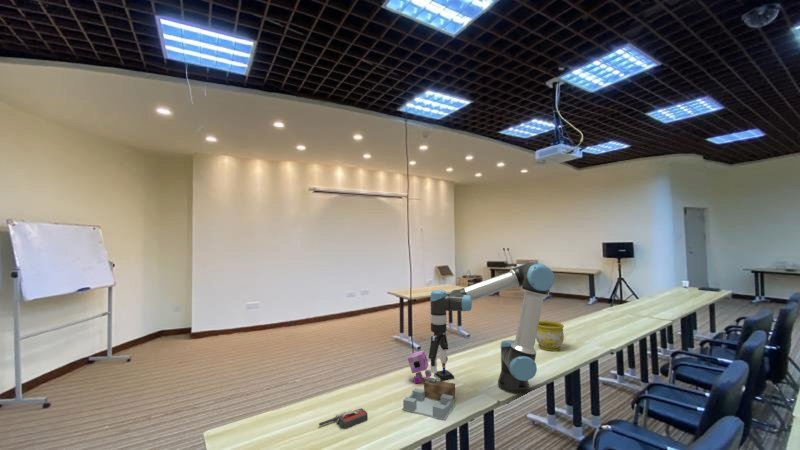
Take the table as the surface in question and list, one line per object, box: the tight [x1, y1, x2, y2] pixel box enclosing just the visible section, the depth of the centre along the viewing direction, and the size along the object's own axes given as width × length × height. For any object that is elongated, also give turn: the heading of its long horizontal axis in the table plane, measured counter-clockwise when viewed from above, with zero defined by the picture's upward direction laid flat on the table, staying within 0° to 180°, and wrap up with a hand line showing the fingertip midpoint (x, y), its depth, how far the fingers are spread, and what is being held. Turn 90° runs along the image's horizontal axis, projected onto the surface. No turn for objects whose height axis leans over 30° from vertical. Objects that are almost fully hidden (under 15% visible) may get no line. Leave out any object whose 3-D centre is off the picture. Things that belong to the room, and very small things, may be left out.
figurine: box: [433, 355, 455, 382], centre depth 188 cm, size 8×8×12 cm
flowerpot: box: [535, 320, 565, 352], centre depth 235 cm, size 18×18×16 cm
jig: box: [401, 387, 456, 421], centre depth 155 cm, size 20×13×4 cm, turn 63°
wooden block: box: [423, 377, 456, 402], centre depth 164 cm, size 14×5×8 cm, turn 64°
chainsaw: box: [318, 408, 369, 430], centre depth 143 cm, size 9×4×20 cm
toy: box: [407, 349, 433, 384], centre depth 184 cm, size 11×8×15 cm
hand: (438, 367), depth 165 cm, fingers open, 13 cm apart
